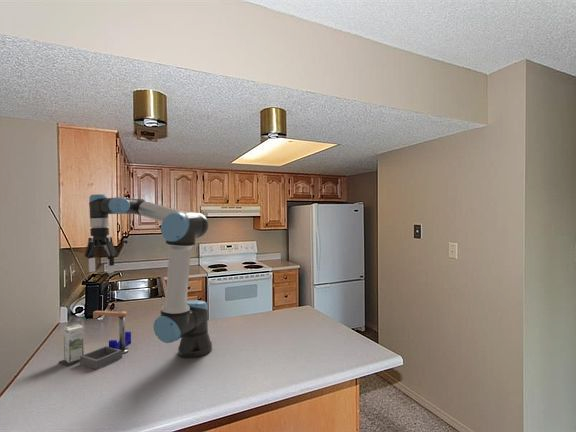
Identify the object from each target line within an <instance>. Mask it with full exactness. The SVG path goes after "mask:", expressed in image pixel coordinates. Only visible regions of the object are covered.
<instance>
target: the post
mask: <svg viewBox="0 0 576 432" xmlns="http://www.w3.org/2000/svg"><path fill="white" fill-rule="evenodd" d="M125 318H126V316H124V317H118V333H119V337H118V339H119V340H118V341H119V343H120V349H119V350H122V355H124V354H127V353H128V352H129V350H130V349H129V348H128V347H125V332H126V322H125V321H126V319H125Z"/></svg>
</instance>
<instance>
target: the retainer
mask: <svg viewBox="0 0 576 432" xmlns="http://www.w3.org/2000/svg"><path fill="white" fill-rule="evenodd" d="M100 316H108V317H117V318H119V317H124V316H125V317H126V316H127V311H126V310H122V311H113V310H111V311H110V310H95V311H93V312H92V317H93V318H92V319H97V318H99V317H100Z"/></svg>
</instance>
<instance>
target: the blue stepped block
mask: <svg viewBox="0 0 576 432" xmlns="http://www.w3.org/2000/svg"><path fill="white" fill-rule="evenodd" d="M131 344H132V332H131V331H125V348H127V347H128V346H129V345H131ZM108 347H112V348H115V349H120V343H119V340H118V339H117V340H116V339H110V340H108Z"/></svg>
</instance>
